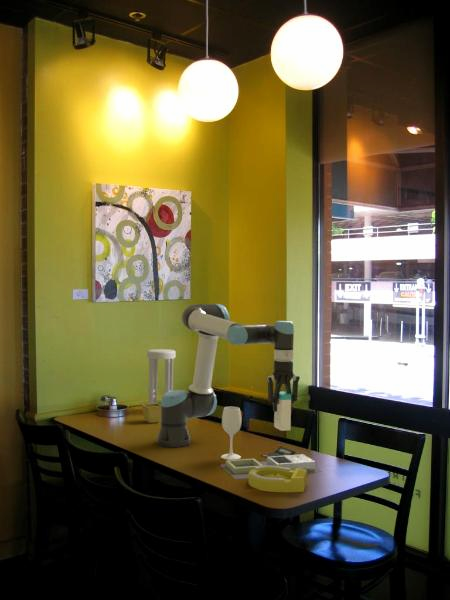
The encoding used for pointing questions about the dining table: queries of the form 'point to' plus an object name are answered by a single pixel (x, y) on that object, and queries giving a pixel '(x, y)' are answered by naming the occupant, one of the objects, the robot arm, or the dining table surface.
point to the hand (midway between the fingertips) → (282, 419)
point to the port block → (292, 462)
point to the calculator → (280, 452)
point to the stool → (153, 371)
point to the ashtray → (278, 479)
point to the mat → (246, 475)
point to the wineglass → (231, 427)
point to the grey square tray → (233, 463)
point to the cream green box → (284, 412)
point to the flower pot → (152, 412)
